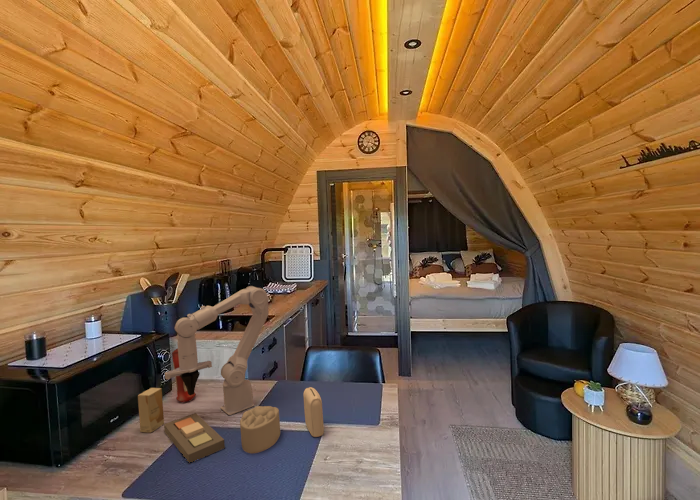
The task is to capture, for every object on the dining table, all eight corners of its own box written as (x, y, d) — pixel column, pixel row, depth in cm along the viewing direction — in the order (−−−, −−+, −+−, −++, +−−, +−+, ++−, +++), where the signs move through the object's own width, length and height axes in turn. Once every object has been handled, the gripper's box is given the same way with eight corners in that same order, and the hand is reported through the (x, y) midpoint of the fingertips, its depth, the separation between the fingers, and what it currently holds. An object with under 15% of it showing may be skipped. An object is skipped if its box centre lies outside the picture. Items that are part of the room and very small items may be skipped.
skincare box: (151, 433, 118) (148, 395, 118) (139, 432, 119) (136, 395, 119) (165, 423, 125) (162, 387, 124) (154, 422, 126) (151, 387, 125)
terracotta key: (191, 423, 122) (190, 417, 122) (196, 428, 118) (195, 422, 118) (174, 429, 118) (174, 423, 118) (179, 434, 115) (179, 428, 115)
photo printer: (303, 423, 119) (301, 385, 118) (316, 420, 120) (314, 382, 120) (311, 439, 109) (309, 398, 109) (325, 435, 111) (323, 395, 110)
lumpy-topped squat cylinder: (283, 429, 116) (281, 402, 116) (269, 453, 103) (267, 423, 103) (251, 429, 117) (249, 402, 117) (234, 453, 104) (231, 423, 104)
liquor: (184, 395, 147) (178, 325, 145) (200, 395, 145) (194, 325, 144) (171, 403, 140) (165, 330, 138) (188, 404, 138) (182, 330, 137)
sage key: (206, 439, 111) (206, 432, 111) (212, 445, 107) (212, 439, 107) (189, 446, 108) (188, 439, 108) (195, 453, 104) (194, 446, 104)
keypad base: (196, 420, 125) (195, 412, 125) (224, 448, 107) (224, 439, 107) (164, 431, 119) (163, 424, 119) (189, 463, 101) (188, 454, 101)
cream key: (198, 428, 116) (197, 421, 116) (203, 433, 113) (203, 427, 113) (181, 434, 113) (181, 428, 113) (186, 440, 109) (186, 434, 109)
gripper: (167, 362, 116) (171, 405, 116) (213, 350, 125) (217, 390, 126) (161, 357, 121) (165, 398, 122) (206, 346, 131) (209, 384, 131)
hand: (191, 393), depth 124 cm, fingers closed
